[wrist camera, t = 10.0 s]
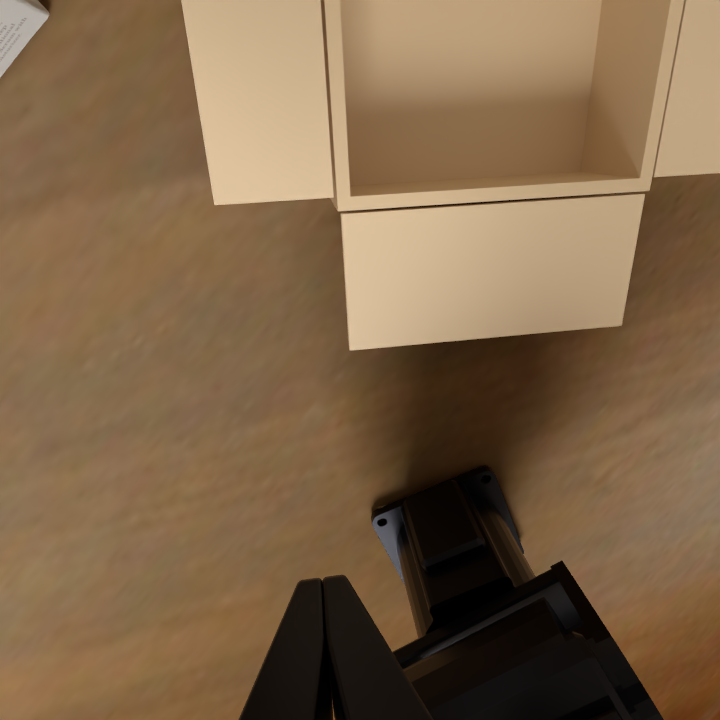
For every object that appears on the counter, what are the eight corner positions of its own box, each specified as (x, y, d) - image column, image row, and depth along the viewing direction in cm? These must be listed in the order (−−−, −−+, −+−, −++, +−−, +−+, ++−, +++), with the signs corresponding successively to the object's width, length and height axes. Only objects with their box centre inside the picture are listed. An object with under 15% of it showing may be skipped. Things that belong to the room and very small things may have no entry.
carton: (647, 287, 22) (718, 317, 18) (249, 321, 20) (239, 361, 17) (752, -250, 15) (899, -374, 11) (163, -261, 13) (115, -410, 10)
